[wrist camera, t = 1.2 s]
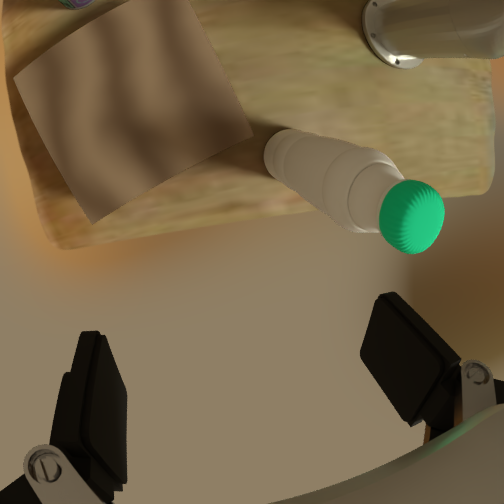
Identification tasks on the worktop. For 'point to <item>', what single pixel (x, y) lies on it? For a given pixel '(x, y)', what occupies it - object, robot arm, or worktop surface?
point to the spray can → (76, 3)
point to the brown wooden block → (131, 102)
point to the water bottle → (356, 188)
